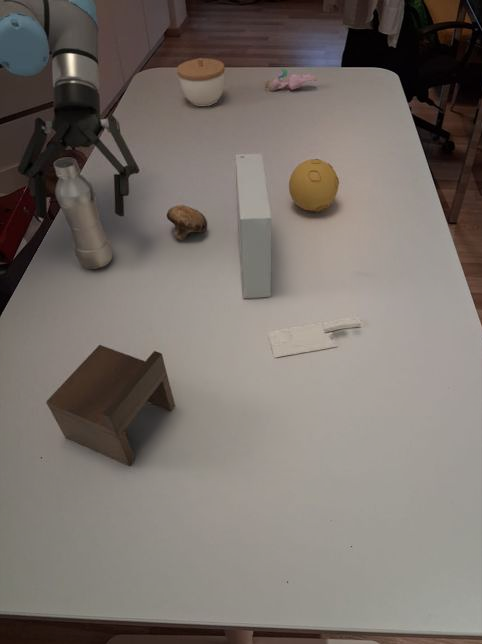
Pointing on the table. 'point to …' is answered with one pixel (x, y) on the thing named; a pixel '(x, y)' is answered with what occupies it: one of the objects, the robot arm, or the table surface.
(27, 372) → the table surface
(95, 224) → the plastic bottle
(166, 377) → the shelf
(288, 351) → the white meat cleaver
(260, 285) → the skincare box
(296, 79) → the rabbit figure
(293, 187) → the stress ball
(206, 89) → the lidded bowl
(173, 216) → the mushroom
